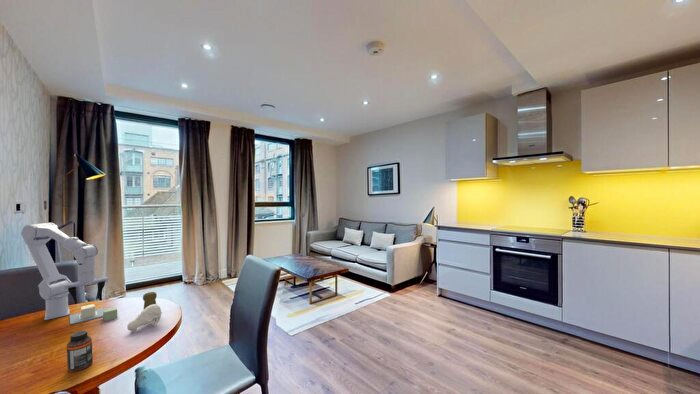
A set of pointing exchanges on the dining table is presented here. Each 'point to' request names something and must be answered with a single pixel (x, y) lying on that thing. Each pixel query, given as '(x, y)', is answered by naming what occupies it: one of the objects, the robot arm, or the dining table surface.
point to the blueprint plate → (77, 317)
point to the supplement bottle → (79, 351)
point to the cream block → (87, 310)
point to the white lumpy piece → (146, 317)
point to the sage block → (110, 313)
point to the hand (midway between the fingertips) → (87, 300)
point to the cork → (149, 299)
